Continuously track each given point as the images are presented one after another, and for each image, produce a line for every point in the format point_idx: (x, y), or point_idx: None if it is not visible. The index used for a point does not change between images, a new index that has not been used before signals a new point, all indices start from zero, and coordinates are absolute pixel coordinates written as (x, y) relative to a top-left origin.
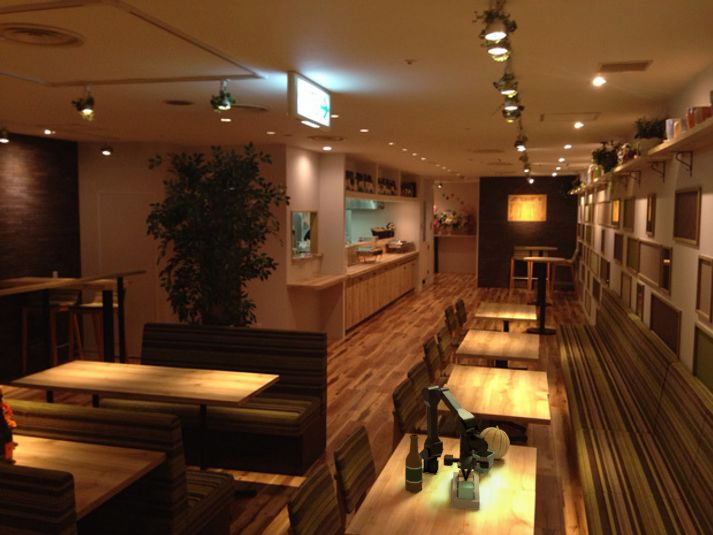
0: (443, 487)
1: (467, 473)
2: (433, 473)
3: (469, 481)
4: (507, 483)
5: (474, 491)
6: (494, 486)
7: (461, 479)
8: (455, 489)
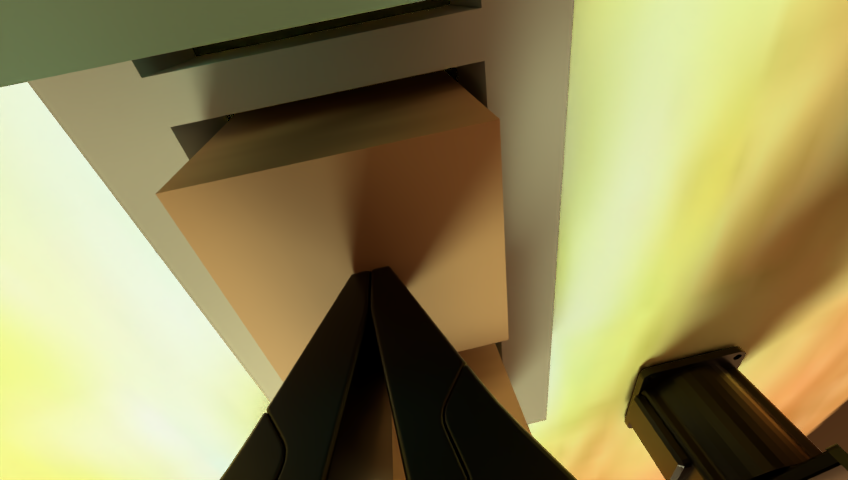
0: (614, 206)
1: (311, 437)
2: (666, 363)
3: (85, 62)
4: (85, 459)
5: (150, 96)
6: (151, 392)
7: (459, 291)
8: (517, 45)
